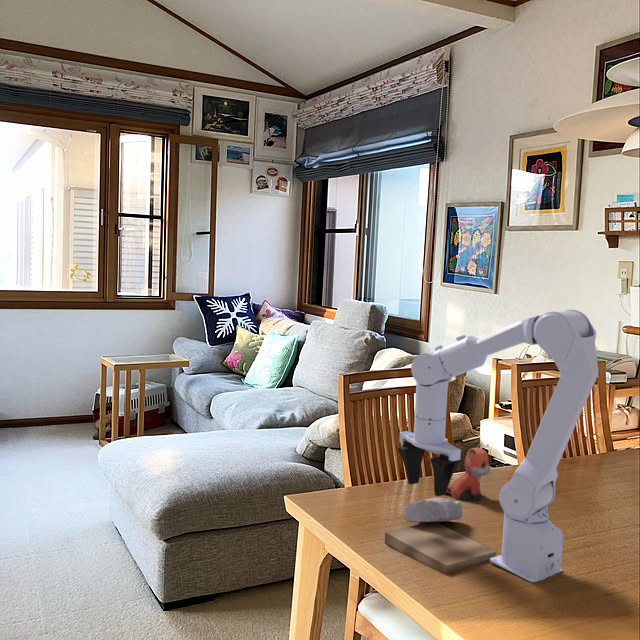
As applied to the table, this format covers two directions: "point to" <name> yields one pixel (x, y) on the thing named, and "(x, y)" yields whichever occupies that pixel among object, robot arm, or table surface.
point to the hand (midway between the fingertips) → (426, 489)
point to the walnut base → (438, 547)
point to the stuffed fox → (471, 476)
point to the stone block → (433, 510)
